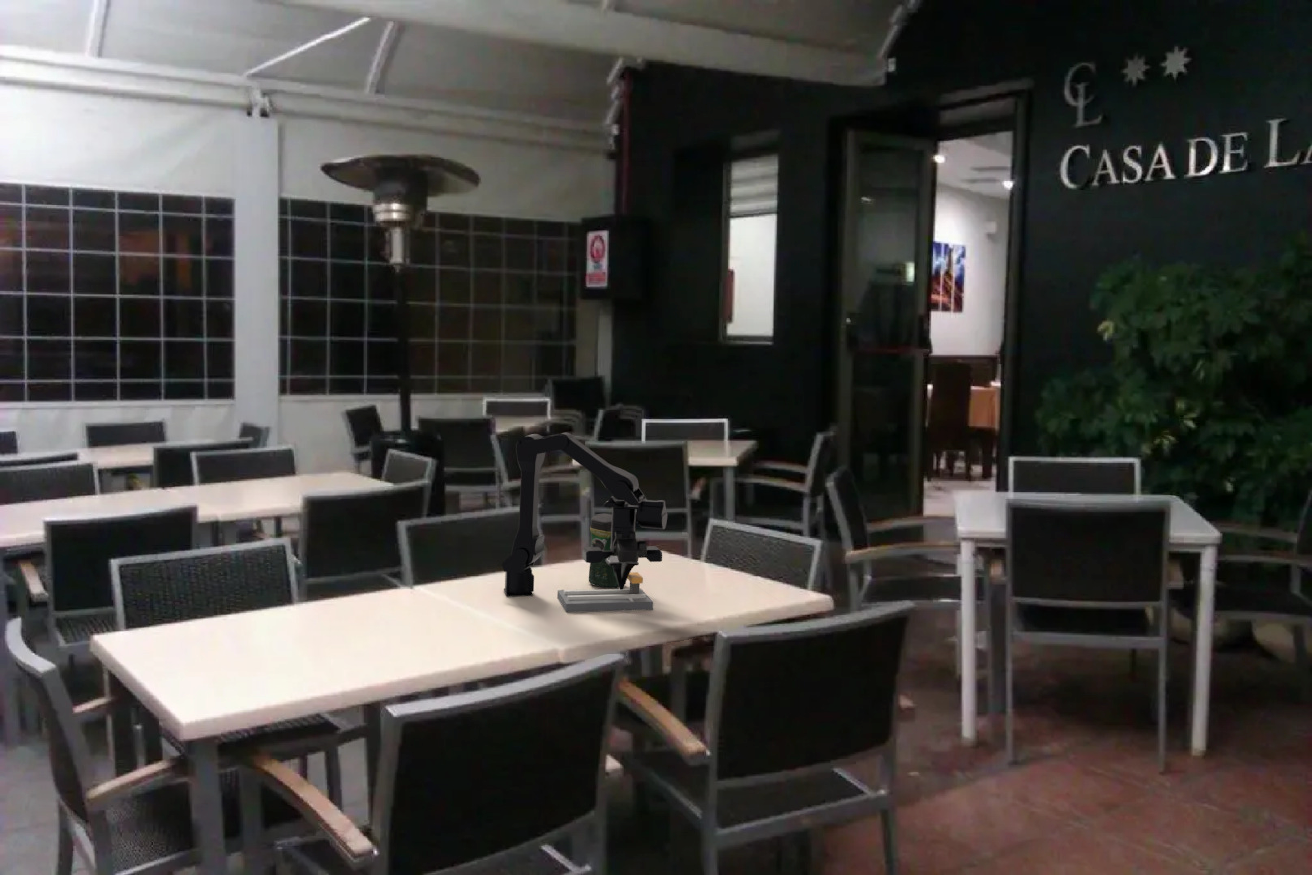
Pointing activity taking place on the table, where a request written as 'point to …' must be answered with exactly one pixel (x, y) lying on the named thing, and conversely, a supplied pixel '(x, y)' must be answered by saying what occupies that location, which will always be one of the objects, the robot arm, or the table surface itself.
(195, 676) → the table surface
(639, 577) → the fader
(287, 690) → the table surface
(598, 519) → the coffee jar
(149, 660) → the table surface
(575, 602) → the console
